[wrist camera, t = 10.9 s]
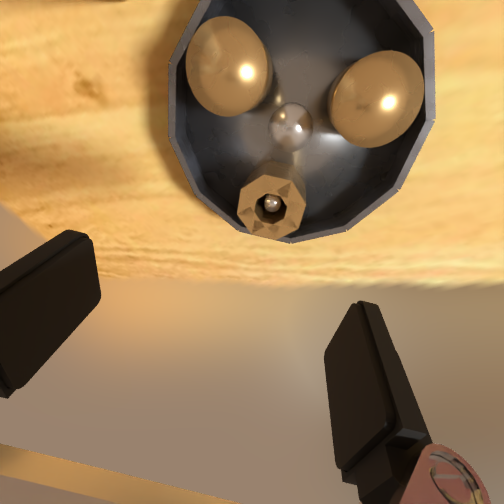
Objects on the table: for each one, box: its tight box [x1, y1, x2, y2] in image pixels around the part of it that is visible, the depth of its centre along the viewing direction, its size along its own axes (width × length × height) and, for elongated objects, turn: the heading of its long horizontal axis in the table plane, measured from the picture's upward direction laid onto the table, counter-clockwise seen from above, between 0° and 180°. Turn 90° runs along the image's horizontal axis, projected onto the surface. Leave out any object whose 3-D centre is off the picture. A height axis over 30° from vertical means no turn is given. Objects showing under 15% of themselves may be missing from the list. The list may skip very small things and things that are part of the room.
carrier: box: [168, 0, 436, 244], centre depth 21 cm, size 20×20×6 cm
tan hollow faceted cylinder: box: [237, 160, 306, 240], centre depth 24 cm, size 5×5×5 cm
